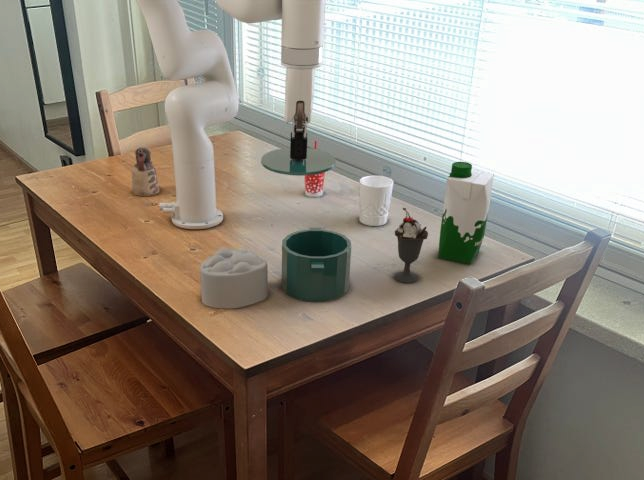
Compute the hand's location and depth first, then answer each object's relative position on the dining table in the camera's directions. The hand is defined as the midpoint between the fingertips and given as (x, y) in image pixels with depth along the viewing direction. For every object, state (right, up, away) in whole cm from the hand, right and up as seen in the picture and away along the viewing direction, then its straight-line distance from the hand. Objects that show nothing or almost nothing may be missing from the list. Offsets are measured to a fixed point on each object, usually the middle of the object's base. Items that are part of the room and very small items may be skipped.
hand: (298, 155), depth 140 cm
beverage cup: (+7, +4, +50) cm, 51 cm away
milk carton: (+36, -17, +18) cm, 44 cm away
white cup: (+20, -6, +35) cm, 41 cm away
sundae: (+23, -23, +9) cm, 34 cm away
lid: (0, -1, +1) cm, 1 cm away
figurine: (-38, +5, +53) cm, 65 cm away
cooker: (+4, -25, +7) cm, 26 cm away
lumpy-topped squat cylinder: (-13, -27, +4) cm, 30 cm away
